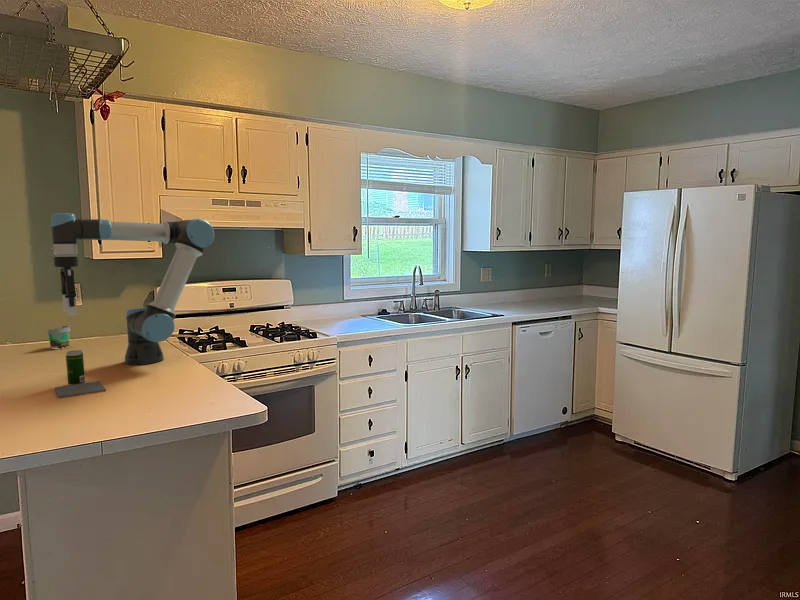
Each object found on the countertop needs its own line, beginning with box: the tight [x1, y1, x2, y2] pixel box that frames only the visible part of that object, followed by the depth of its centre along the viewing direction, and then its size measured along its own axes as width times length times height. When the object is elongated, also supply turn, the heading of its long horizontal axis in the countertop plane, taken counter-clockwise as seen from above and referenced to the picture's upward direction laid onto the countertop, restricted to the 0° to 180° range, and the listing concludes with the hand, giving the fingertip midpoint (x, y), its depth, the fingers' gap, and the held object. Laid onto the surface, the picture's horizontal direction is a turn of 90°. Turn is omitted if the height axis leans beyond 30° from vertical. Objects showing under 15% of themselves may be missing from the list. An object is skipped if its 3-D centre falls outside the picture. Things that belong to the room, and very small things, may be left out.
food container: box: [47, 325, 71, 349], centre depth 269 cm, size 12×6×10 cm, turn 179°
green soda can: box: [65, 349, 86, 386], centre depth 201 cm, size 5×5×12 cm
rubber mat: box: [54, 380, 107, 398], centre depth 193 cm, size 14×14×1 cm
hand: (70, 313), depth 206 cm, fingers open, 13 cm apart
